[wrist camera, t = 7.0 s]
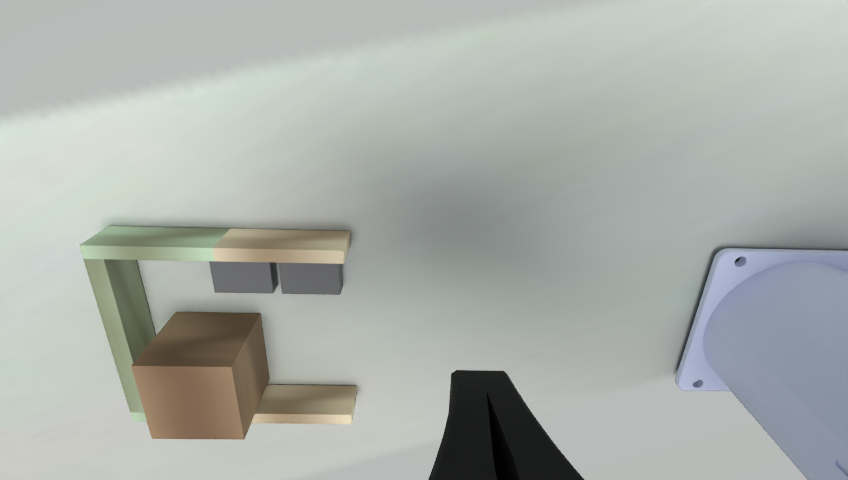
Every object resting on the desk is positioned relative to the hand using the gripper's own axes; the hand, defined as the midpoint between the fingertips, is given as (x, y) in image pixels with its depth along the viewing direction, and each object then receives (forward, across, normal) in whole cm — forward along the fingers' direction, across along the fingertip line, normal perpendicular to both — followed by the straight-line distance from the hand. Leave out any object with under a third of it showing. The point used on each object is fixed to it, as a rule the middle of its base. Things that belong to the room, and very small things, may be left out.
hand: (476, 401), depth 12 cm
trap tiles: (+10, +8, +1) cm, 13 cm away
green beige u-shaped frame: (+10, +10, +4) cm, 15 cm away
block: (+10, +11, +6) cm, 16 cm away
